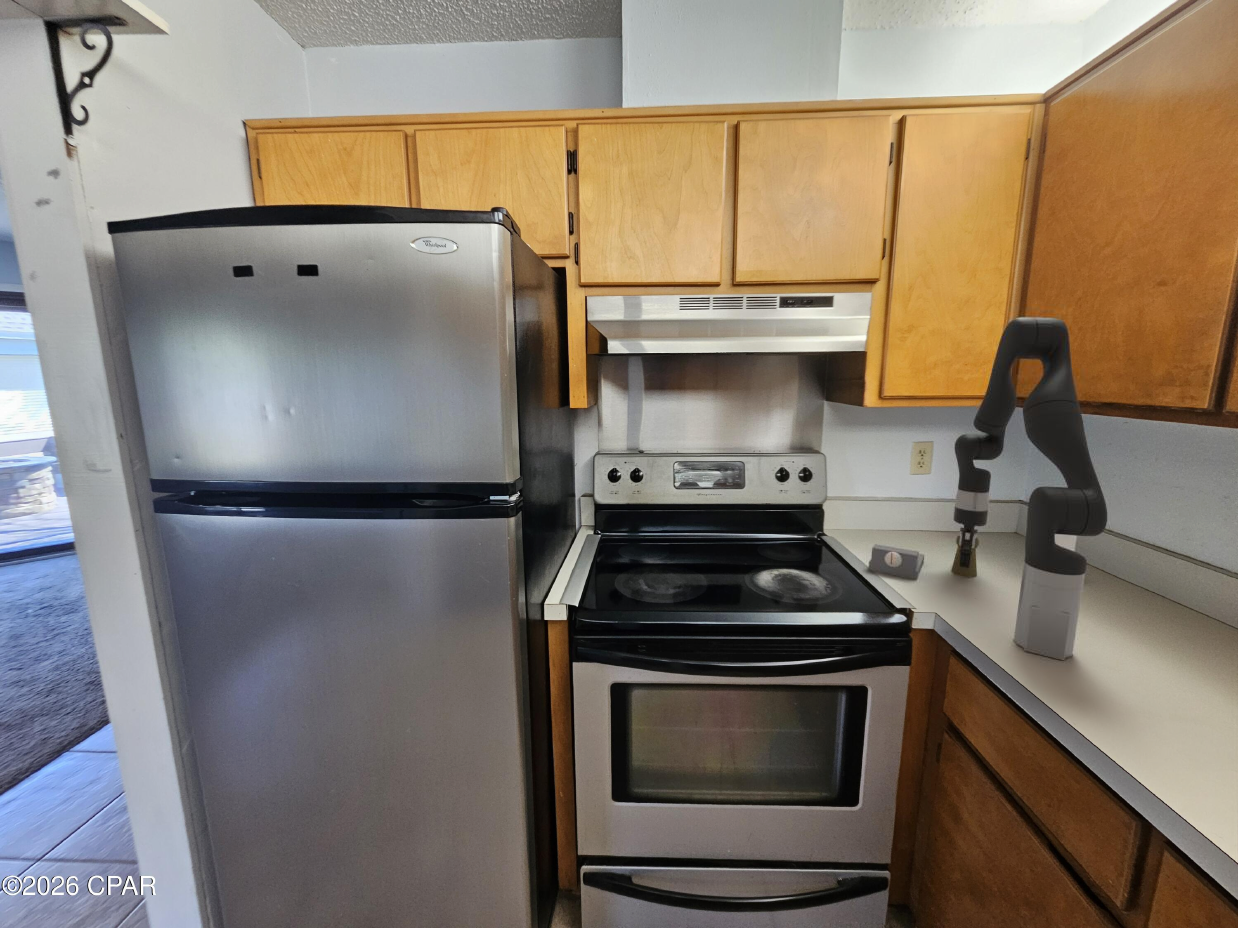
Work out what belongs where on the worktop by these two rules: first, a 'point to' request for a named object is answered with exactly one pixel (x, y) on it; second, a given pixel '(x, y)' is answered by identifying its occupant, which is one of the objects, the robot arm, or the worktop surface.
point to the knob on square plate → (896, 561)
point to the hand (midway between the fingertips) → (965, 562)
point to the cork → (972, 566)
